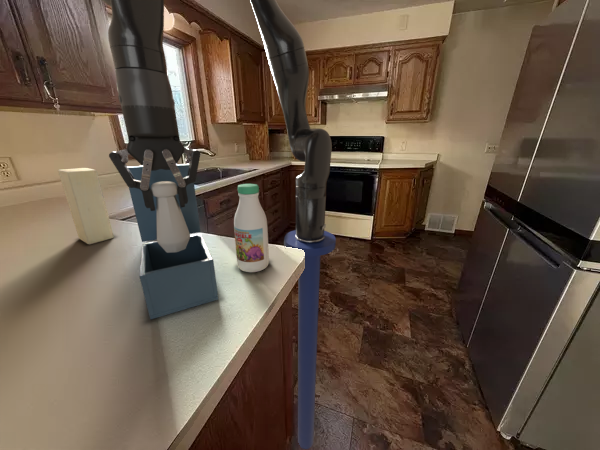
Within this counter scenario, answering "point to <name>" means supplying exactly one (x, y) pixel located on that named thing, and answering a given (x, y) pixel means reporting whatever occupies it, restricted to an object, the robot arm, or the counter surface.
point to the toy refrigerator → (86, 204)
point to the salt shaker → (169, 218)
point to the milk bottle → (250, 230)
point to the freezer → (177, 277)
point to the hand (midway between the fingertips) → (167, 207)
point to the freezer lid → (148, 217)
